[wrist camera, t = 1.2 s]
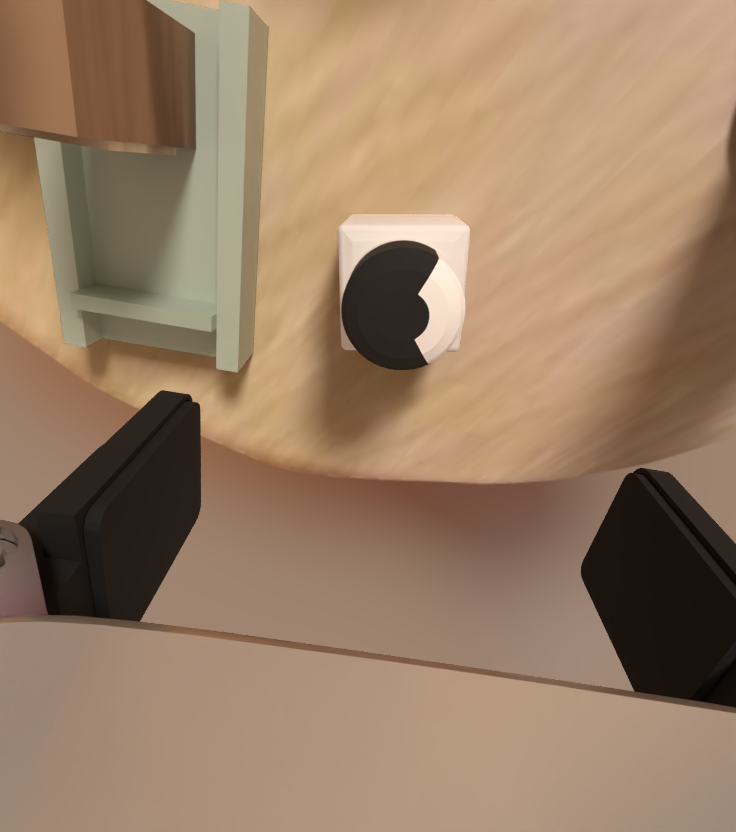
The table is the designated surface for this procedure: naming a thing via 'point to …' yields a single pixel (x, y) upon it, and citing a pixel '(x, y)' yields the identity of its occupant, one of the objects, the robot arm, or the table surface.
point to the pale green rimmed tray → (169, 211)
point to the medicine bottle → (402, 286)
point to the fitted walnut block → (97, 74)
